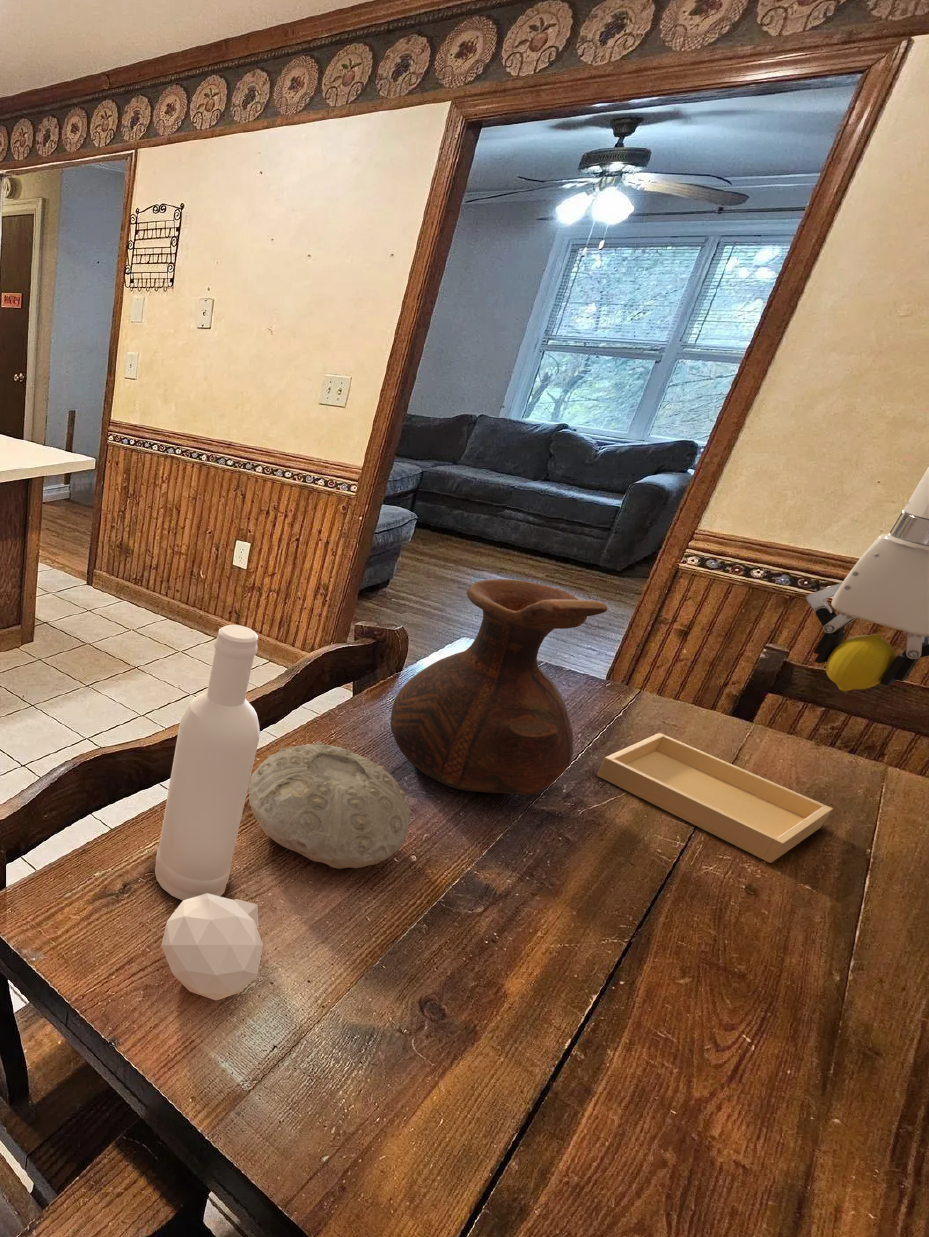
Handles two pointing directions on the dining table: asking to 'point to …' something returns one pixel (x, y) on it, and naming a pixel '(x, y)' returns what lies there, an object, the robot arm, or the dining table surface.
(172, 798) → the bottle
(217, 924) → the cream faceted rounded solid
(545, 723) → the jug
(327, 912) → the dining table surface
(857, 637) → the lemon
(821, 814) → the tray
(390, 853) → the decorative shell
